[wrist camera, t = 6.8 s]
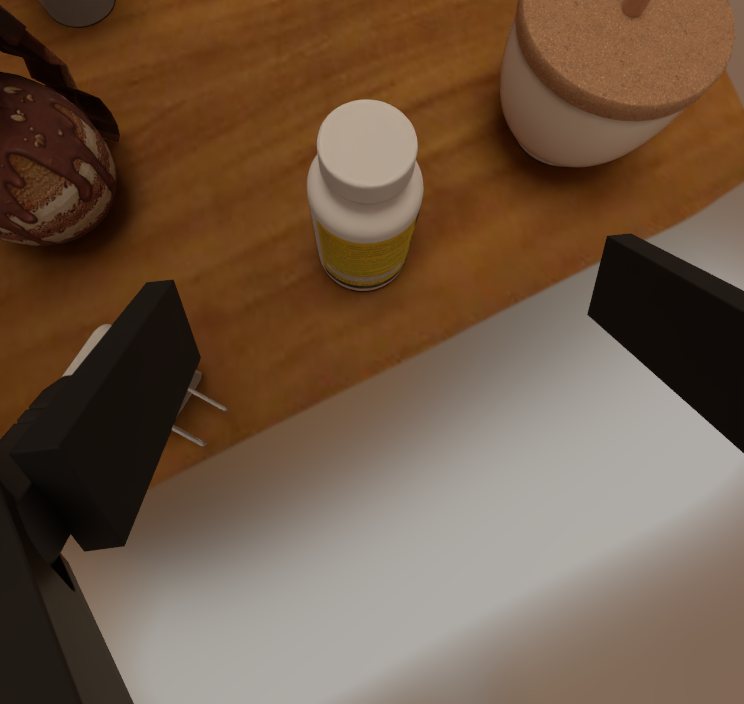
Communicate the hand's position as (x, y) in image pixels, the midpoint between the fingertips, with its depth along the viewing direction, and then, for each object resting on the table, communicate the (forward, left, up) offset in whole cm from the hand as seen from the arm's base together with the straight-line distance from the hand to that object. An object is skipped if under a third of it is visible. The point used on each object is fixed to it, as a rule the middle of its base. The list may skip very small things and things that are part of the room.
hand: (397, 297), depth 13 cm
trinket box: (+14, +15, -12) cm, 23 cm away
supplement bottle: (0, +7, -12) cm, 14 cm away
